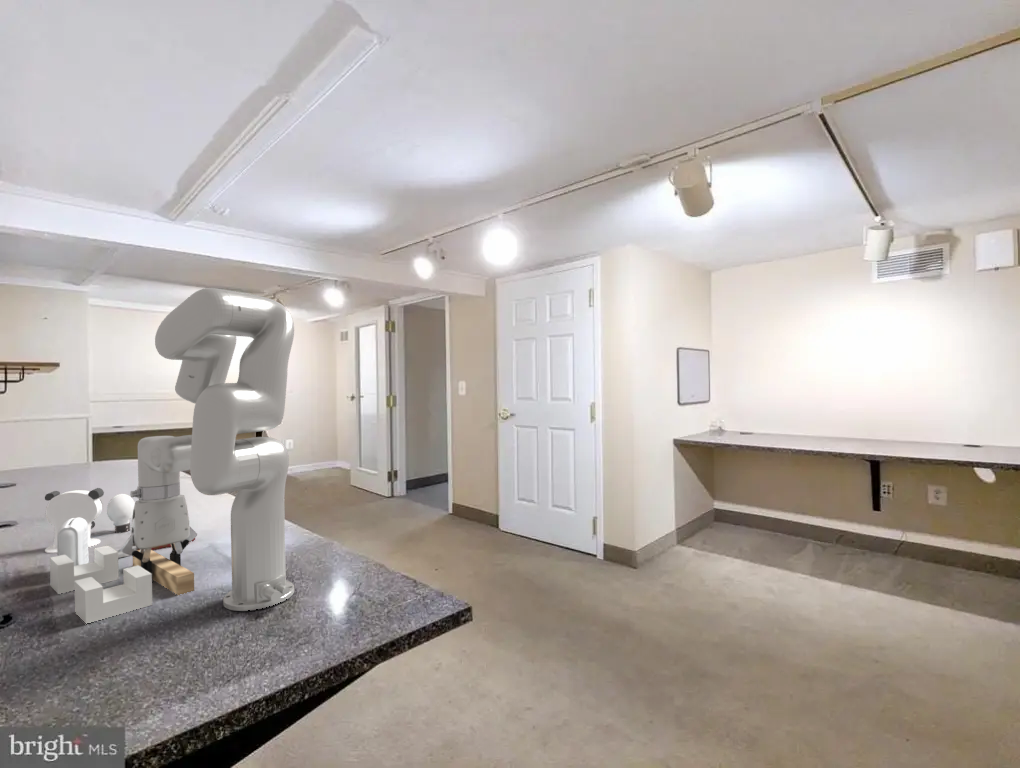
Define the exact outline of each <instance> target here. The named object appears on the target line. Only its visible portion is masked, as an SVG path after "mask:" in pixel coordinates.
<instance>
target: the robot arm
mask: <svg viewBox="0 0 1020 768" xmlns="http://www.w3.org/2000/svg"><path fill="white" fill-rule="evenodd" d="M294 325H295V324H294V320H293V317H292V315H291V313H290V311H289V310H288V309H287V308H286V306H285V305H283V304H282V303H280V302H278V301H277V300H275V299H272V298H269V297H265V296H261V295H257V294H253V293H252V294H251V293H246V292H239V291H234V290H233V291H232V290H228V289H222V288H216V287H208V288H207V287H206V288H201V289H199V290H196V291H194V293H191V295H189V296H188V297H187V298H185V300H184V301H182V302H181V303H179V305H178V306H176V307H175V308H173V310H172V311H170V312H169V313H168V314H167V315H166V316H165V317H164V318H163V320H162V321H161V322H160V324H159V326H158V327H157V330H156V333H155V336H154V345H155V349H156V351H157V353H158V354H159V355H160V356H161V357H163V358H164V359H168V360H172V361H173V360H176V361H181V364H180V368H179V372H178V375H177V379H176V382H175V386H174V390H175V393H176V394H177V396H179V397H180V398H181V399H183V400H185V401H188V402H190V403H192V404H195V405H194V407H193V416H192V431H191V434H188V435H187V434H186V435H181V436H173V435H155V436H145V437H143V438H140V439H139V440H138V442H137V475H138V476H137V477H138V478H137V480H138V481H137V482H138V485H137V488H136V489H135V490H131V491H130V493H129V494H130V495H129V496H130V497H132V498H136V499H138V500H135V501H134V502H135V505H134V510H133V516H132V518H131V524H130V536H128V538H127V540H126V542H124V544H123V545H122V547H121V548H120V549H121V552H123V553H125V554H128V555H130V556H132V557H133V556H134V557H136V558H137V559H139V560H141V567H142V568H143V569H145V570H147V571H148V572H150V573H151V574H152V561H150V558H149V557H150V553H151V548H154V547H158V546H163V545H167V544H171V547H170V548H171V552H170V553H169V560H171V561H173V562H175V563H177V564H178V565H180V566H182V564H181V563H182V562H181V560H182V559H181V557H182V556H181V554H182V553H183V551H184V549H186V547H187V546H188V545H189V544H190V543H191V542H190V541H192V540H193V539H194V538H195V539H196V538H197V536H198V533H197V532H196V531H195V530H194V529H193V528H192V527H191V526H190V517H189V516H190V515H189V510H188V503H187V500H186V497H185V495H184V494H181V482H180V481H181V479H180V475H181V474H180V472H185V471H186V472H187V471H190V479H191V482H192V484H193V486H194V487H195V489H196V490H197V491H198V492H200V494H203V495H206V496H220V495H225V494H229V493H234V492H237V493H236V495H235V496H234V499H233V502H232V504H231V509H230V551H231V554H230V555H231V556H230V557H231V560H230V561H231V590H229V591H228V592H227V593H226V594H225V595H224V596H223V597H222V598H223V599H222V601H223V602H222V604H223V607H224V608H225V609H228V610H229V611H235V612H249V611H248V610H250V611H256V609H258V610H263V609H267V608H270V607H273V605H274V606H275V604H276V605H279V604H281V603H283V602H285V601H287V600H289V599H290V598H291V597H292V596H293V594H294V593H295V585H294V583H292V582H291V581H289V580H287V579H286V578H287V575H286V574H287V573H286V572H287V571H286V570H287V566H286V530H285V529H286V526H285V522H286V521H285V519H286V518H285V516H286V515H285V496H286V495H285V494H286V482H287V476H288V471H289V465H290V456H289V451H288V450H287V447H286V446H285V445H284V443H282V441H280V440H278V439H276V438H273V437H270V436H269V437H268V436H257V437H256V436H255V437H247V438H246V437H245V438H240V439H236V438H237V435H239V434H248V433H249V434H250V433H257V432H264V431H268V430H273V429H275V428H277V427H278V426H279V425H280V424H281V423H282V421H283V419H284V416H285V409H286V395H287V383H288V366H289V360H290V354H291V350H292V346H293V341H294V337H295V326H294ZM237 337H246V338H247V337H248V338H251V339H253V340H251V342H250V343H249V344H248V345H247V346H246V348H245V349H244V351H243V352H242V355H241V357H240V359H239V364H238V365H239V368H238V369H239V370H238V371H239V372H238V377H237V381H236V382H226V380H227V378H228V377H227V376H228V373H229V370H230V367H231V363H232V359H233V356H234V352H235V348H236V346H237V345H236V344H237ZM192 542H193V541H192ZM133 545H134V546H136V547H138V548H139V549H140V552H139V551H137V550H135V549H132V546H133ZM286 599H287V600H286ZM280 602H281V603H280ZM278 603H279V604H278ZM269 606H270V607H269ZM266 607H267V608H266ZM262 608H263V609H262Z"/></svg>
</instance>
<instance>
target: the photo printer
mask: <svg viewBox="0 0 1020 768" xmlns="http://www.w3.org/2000/svg"><path fill="white" fill-rule="evenodd" d="M56 554H57V555H56V556H60V555H66V556H67V557H69V558H70V559H71V560H72V561H73V562H74V566H77V565H82V564H86V563H90V559H89V558H90V557H89V556H90V555H89V548H88V523H87V522H86V520H85V519H83V518H80V517H78V518H71V519H69V520H67V521H66V522H65V523H64V524H63V525H62V526H61V527H60V529H59V531H58V534H57V553H56Z"/></svg>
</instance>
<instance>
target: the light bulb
mask: <svg viewBox="0 0 1020 768" xmlns="http://www.w3.org/2000/svg"><path fill="white" fill-rule="evenodd" d="M135 502H136V501H135V500H134V498H133V497H131V495H128V494H126V493H119V494H115V495H114V496H113V497H112V498H111V499H110V500H109V501H108V503H107V506H106V514H107V517H108V519H109V520H110V521H111V522H113V526H114V532H115V531H116V532H117V533H116V534H119V532H121V533H126V532H128V531H131V522H130V520H132V516H133V510H134V505H135Z"/></svg>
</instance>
